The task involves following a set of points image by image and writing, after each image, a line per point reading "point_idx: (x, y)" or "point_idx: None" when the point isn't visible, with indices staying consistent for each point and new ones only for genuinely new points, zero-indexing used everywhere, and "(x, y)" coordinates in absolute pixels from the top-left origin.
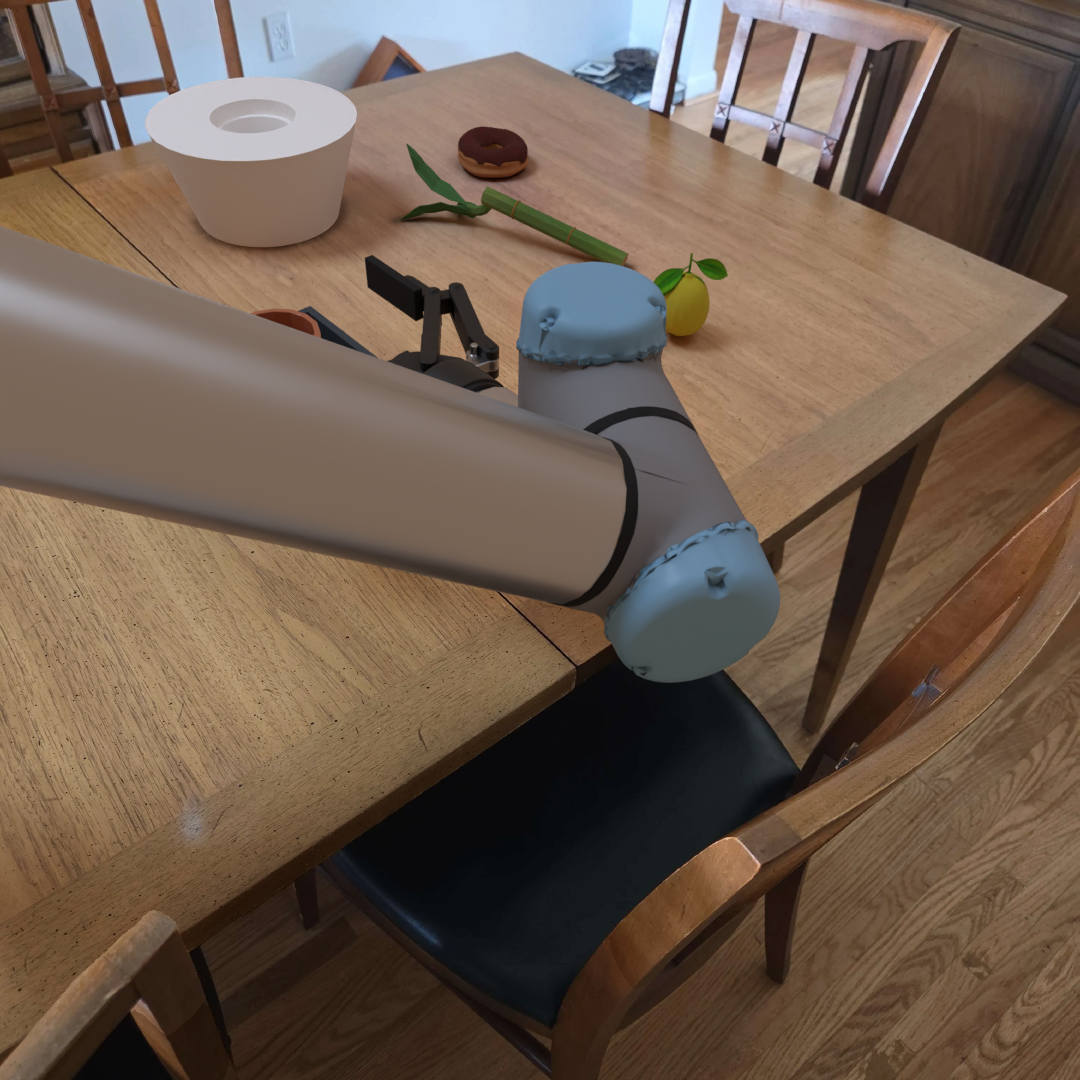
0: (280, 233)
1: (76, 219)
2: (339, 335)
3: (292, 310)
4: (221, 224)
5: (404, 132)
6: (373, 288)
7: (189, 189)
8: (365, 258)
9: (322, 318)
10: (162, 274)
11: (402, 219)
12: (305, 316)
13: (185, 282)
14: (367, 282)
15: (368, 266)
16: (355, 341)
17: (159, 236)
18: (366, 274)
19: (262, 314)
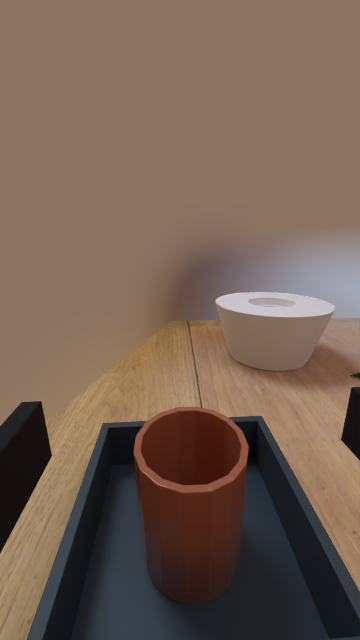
0: (266, 362)
1: (180, 336)
2: (278, 460)
3: (229, 419)
4: (235, 349)
5: (355, 335)
6: (355, 448)
7: (224, 328)
8: (353, 389)
9: (267, 432)
10: (194, 366)
11: (352, 375)
12: (239, 433)
13: (202, 373)
14: (343, 431)
15: (356, 405)
16: (294, 477)
17: (206, 350)
18: (346, 417)
19: (199, 412)
